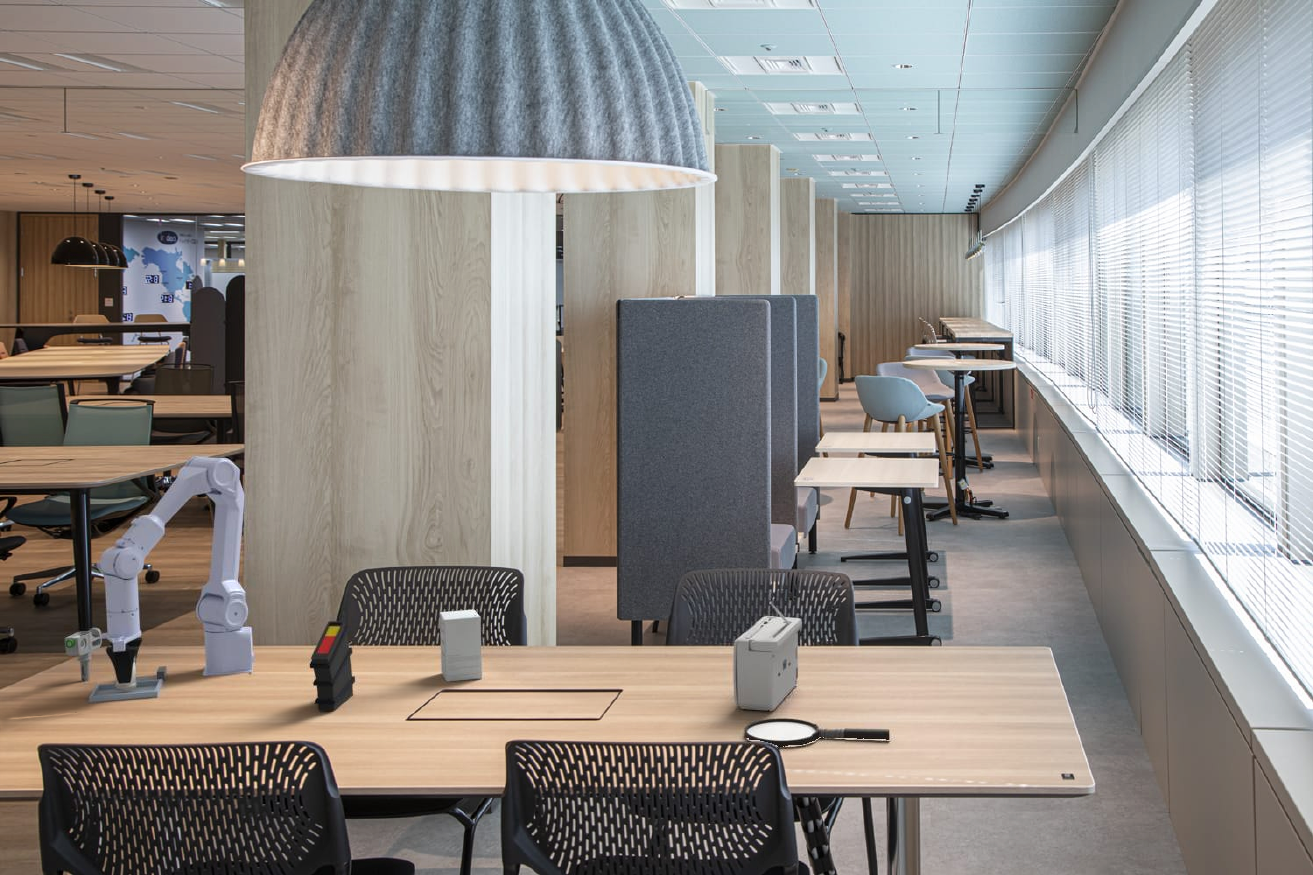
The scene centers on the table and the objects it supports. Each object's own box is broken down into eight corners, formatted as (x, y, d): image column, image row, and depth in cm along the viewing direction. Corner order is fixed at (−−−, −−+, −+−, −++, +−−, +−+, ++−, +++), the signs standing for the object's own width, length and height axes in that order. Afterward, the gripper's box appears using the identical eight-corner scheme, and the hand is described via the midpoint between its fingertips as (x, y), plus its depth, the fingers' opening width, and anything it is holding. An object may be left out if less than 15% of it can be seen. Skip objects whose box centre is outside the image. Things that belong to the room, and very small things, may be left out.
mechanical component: (106, 675, 260) (103, 626, 259) (78, 689, 250) (76, 638, 249) (92, 675, 260) (89, 626, 259) (64, 689, 250) (61, 638, 249)
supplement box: (477, 669, 260) (475, 608, 259) (482, 679, 253) (481, 616, 252) (440, 673, 258) (439, 611, 257) (445, 682, 251) (443, 618, 250)
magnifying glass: (890, 754, 206) (889, 741, 206) (741, 751, 210) (740, 738, 210) (889, 730, 218) (888, 718, 218) (748, 727, 222) (748, 715, 222)
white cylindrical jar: (137, 684, 247) (136, 653, 247) (135, 689, 244) (134, 658, 243) (116, 686, 246) (115, 655, 246) (114, 691, 243) (112, 660, 242)
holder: (168, 676, 259) (167, 665, 259) (165, 682, 254) (165, 671, 254) (123, 679, 257) (123, 668, 256) (119, 686, 252) (119, 675, 251)
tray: (162, 686, 251) (162, 679, 251) (157, 699, 242) (157, 691, 242) (96, 691, 248) (96, 684, 248) (89, 704, 239) (88, 696, 239)
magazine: (360, 682, 246) (346, 620, 238) (340, 730, 235) (325, 666, 227) (341, 681, 246) (327, 619, 239) (320, 729, 235) (304, 666, 227)
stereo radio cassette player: (762, 681, 249) (761, 579, 247) (803, 684, 246) (803, 581, 245) (732, 711, 229) (730, 601, 228) (776, 715, 227) (775, 603, 225)
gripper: (105, 603, 250) (109, 672, 251) (94, 619, 236) (97, 691, 237) (144, 601, 251) (147, 669, 252) (135, 616, 237) (138, 688, 239)
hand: (126, 680), depth 245 cm, fingers closed on white cylindrical jar, 4 cm apart
